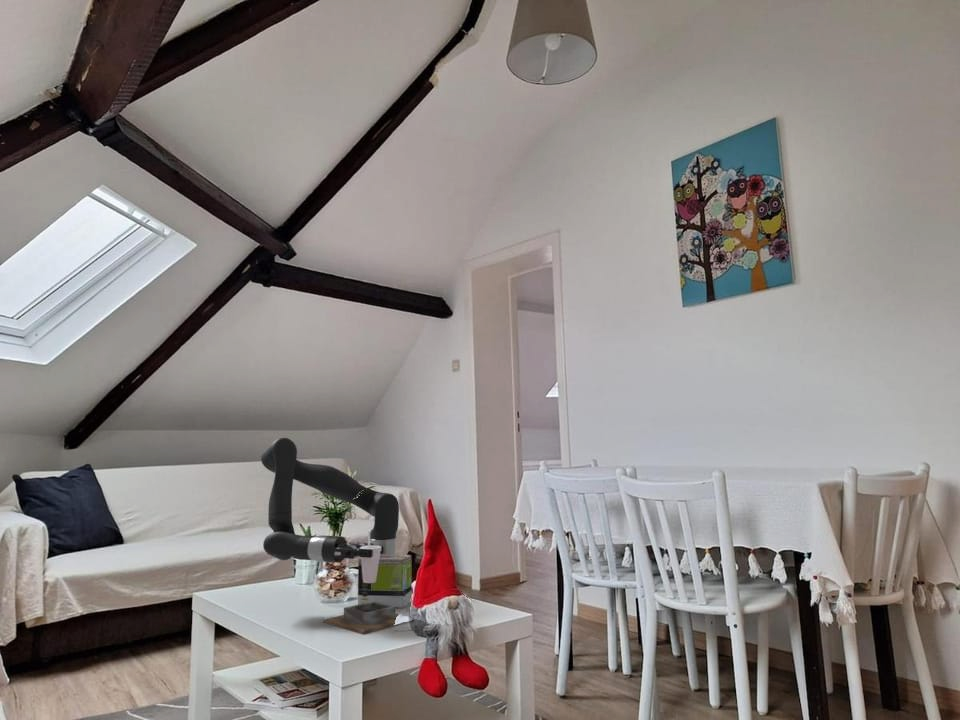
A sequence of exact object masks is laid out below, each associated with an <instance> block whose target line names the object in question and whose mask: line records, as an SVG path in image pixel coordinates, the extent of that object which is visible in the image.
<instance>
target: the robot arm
mask: <svg viewBox="0 0 960 720" xmlns="http://www.w3.org/2000/svg"><path fill="white" fill-rule="evenodd" d="M297 456H298V448H297V446H296V444H295V442H294V441H293V440H292V439H290V438H288V437H279V438H277V439H275V440H274V441H273V442H272V443H271V444H269V446H268V447H267V448H266V449H265V450H264V451H263V453H261V457H260V460H261V463H262V465H263V467H265V469H266V470H268V471H270V472H272V473H274V480H273V484H272V488H271V492H270V495H269V500H268V512H267V513H268V515H267V516H268V518H267V519H268V526H269V528H270V529H271V530H272V531H273V532H272V533H269V534H268V535H266V537H265V538H264V540H263V544H262V547H263V550H264V551H265V553H267V555H269V556H271V557H273V558H276V559H278V560H280V561H288V560H290V559H291V558H295V559H299V560H303V561H304V560H305V561H315V562H320V563H333V564H334V563H335V564H339V563H342V562H343V561H344V560H345V559H351V560H353V559H360V558H361V557H366V558H371V557H372V556H373V550H372V549H360V547H362V546H368V542H360V541H359V542H358V541H357V542H353V541H351V542H347V540H346V538H345V537H344V536H342V535H341V536H340V535H308V534H307V535H301V534H296V532H295V529H294V528H295V527H294V525H293V521H292V520H293V519H292V518H293V516H292V515H293V513H292V512H293V506H292V505H293V504H292V503H293V502H292V500H293V483H294V480H295V481H297V482H299V483H301V484H303V485H306V486H308V487H310V488H313V489H315V490H318V491H319V492H321V493H323V494H325V495H327V496H330V495H332V496H330V497H331V498H334V499H337V500H339V501H342V502H344V503H348V502H350V503H349V504H352V505H354V506H356V507H358V508H360V509H361V510H363V512H365V513H367V514H369V515H370V516H372V517H373V518H374V525H373V527H372V529H371V530H370V531H369V532H370V546H381V551H380V555H397V553H396V552H397V551H396V550H397V548H396V546H397V544H396V543H397V532H398V530H399V529H398V528H399V521H400V520H399V519H400V518H399V517H400V516H399V515H400V514H399V513H400V505H399V500H398V498H397V497H396V495H394V494H392V493H389V492H382V491H377V490H373V489H371V488H368V487H367V486H364V485H362V484H360V483H359V482H358V481H357V480H355V479H354V478H353V477H352V476H350V475H349V474H347V473H346V472H344V471H342V470H340V469H337V468H335V467H334V466H331V465H327V464H320V463H319V464H316V463H307V462H304V461H300V460H298V459H297V458H298V457H297ZM366 489H367V490H366ZM362 490H364V491H362ZM361 491H362V492H361ZM359 492H361V493H362V494H361V493H359ZM358 493H359V495H360V496H358V495H357V494H358ZM356 495H357V496H358V498H356ZM354 497H355V498H356V499H354V500H352V499H353V498H354Z"/></svg>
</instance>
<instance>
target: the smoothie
mask: <svg viewBox="0 0 960 720" xmlns="http://www.w3.org/2000/svg"><path fill="white" fill-rule="evenodd" d="M370 532H371V531H368V532H367V543H368V546H362V547H360V549H372V550H373V556H372V557H371V558H366V557H360V558H361V564H362V575H363V582H364V583H375V582H376V579H377V572H378V565H379V558H380V551H381V546H370Z"/></svg>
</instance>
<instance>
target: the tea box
mask: <svg viewBox="0 0 960 720" xmlns="http://www.w3.org/2000/svg"><path fill="white" fill-rule="evenodd" d="M357 559H358V565H357V566H358V568H357V569H358V570H357V605H359V604H363V603H368V602H372V601H374V602H378V603H382V604H386V605H390V606H394V607H395V608H400V609H401V608H402V609H403V608H404V607H406V606H407V605H409V604H410V603H409V601H410V599H411V600H412V589H413V587H412V580H413V579H412V575H413V574H412V570H413V569H412V555H411V554H396V555H380V558H379V565H378V572H377V579H376V582H375V583H364V582H363V575H362V564H361V557H359V558H357Z"/></svg>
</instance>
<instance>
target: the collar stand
mask: <svg viewBox="0 0 960 720" xmlns="http://www.w3.org/2000/svg"><path fill="white" fill-rule="evenodd" d="M399 614H400V613H398V612H396V607H394V606H390V605H386V604H382V603H378V602H374V601H372V602H368V603H363V604H359V605H358V604H354V605H350V606H345V607H344V608H343V614H341V615H337V616H332V617H327V618H324V623H326V624H329V625H333V626H334V627H335V626H336V627H338V628H342V629H345V630H348V631H351V632H355V633H357V634H360V635H365V633H366V634H369V633H372V632H377V631H380V630H385V629H388V628H391V627H394V624H395V620H396V617H397V616H398V615H399Z"/></svg>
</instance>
